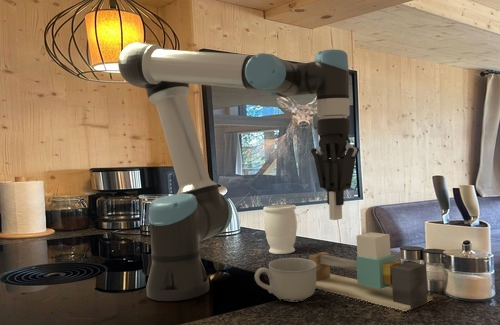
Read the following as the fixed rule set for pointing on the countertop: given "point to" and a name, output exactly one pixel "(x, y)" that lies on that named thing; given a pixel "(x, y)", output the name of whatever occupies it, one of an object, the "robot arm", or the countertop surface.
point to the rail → (394, 273)
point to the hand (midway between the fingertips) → (335, 218)
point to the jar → (280, 228)
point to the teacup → (290, 278)
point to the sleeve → (372, 258)
